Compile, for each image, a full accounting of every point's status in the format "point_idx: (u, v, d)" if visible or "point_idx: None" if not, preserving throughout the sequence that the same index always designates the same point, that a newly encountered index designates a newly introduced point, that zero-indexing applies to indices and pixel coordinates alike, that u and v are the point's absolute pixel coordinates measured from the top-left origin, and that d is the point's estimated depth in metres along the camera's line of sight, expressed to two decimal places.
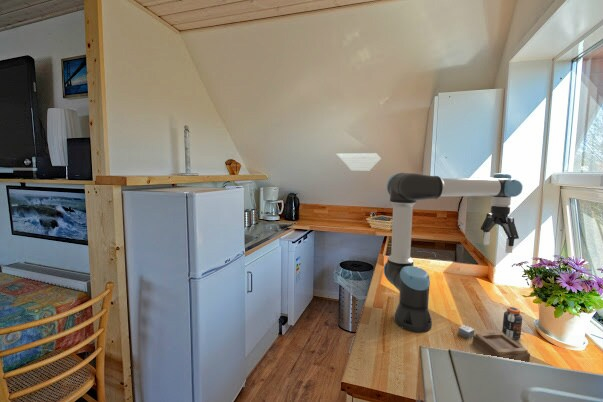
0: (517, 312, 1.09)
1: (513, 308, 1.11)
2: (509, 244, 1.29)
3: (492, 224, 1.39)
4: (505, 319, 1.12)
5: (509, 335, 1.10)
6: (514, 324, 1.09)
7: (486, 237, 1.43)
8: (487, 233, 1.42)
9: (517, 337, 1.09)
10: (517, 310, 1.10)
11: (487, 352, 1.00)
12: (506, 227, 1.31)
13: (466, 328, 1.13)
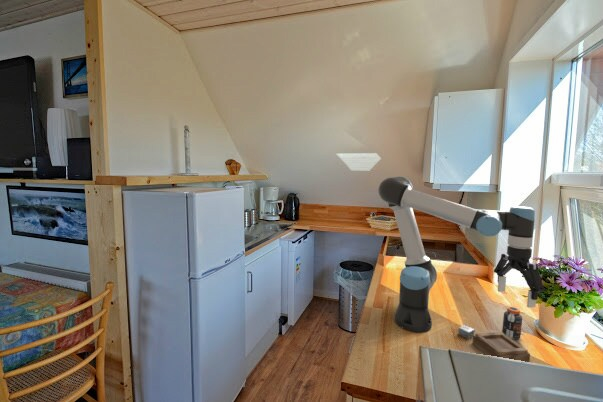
0: (517, 312, 1.09)
1: (513, 308, 1.11)
2: (532, 297, 1.02)
3: (509, 268, 1.13)
4: (505, 319, 1.12)
5: (509, 335, 1.10)
6: (514, 324, 1.09)
7: (501, 282, 1.16)
8: (502, 277, 1.16)
9: (517, 337, 1.09)
10: (517, 310, 1.10)
11: (487, 352, 1.00)
12: (527, 275, 1.04)
13: (466, 328, 1.13)
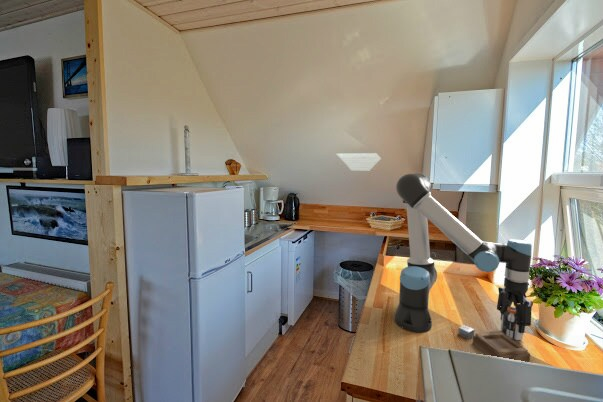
0: None
1: (513, 308, 1.11)
2: (519, 330, 1.08)
3: (508, 302, 1.13)
4: (505, 319, 1.12)
5: (509, 335, 1.10)
6: (514, 324, 1.09)
7: None
8: None
9: None
10: None
11: (487, 352, 1.00)
12: (520, 309, 1.08)
13: (466, 328, 1.13)
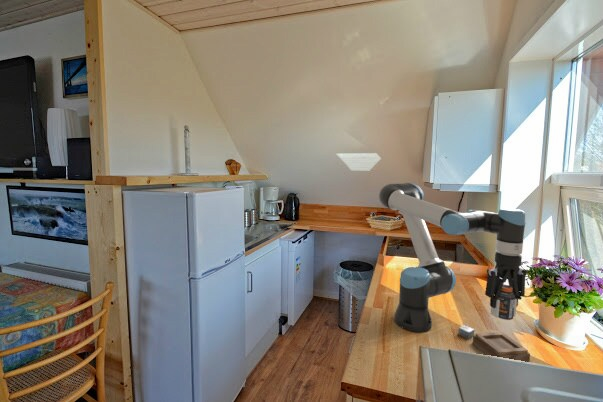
0: None
1: (506, 286, 0.99)
2: None
3: (509, 281, 1.00)
4: None
5: None
6: None
7: None
8: None
9: None
10: (503, 287, 0.99)
11: (487, 352, 1.00)
12: (496, 282, 0.99)
13: (466, 328, 1.13)
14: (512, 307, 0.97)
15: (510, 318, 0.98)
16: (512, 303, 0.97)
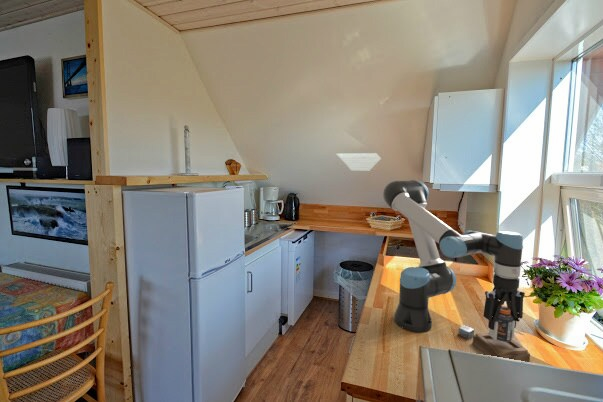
0: None
1: (504, 308, 1.00)
2: None
3: (507, 302, 1.01)
4: None
5: None
6: None
7: None
8: None
9: None
10: (501, 309, 0.99)
11: (487, 352, 1.00)
12: (494, 304, 1.00)
13: (466, 328, 1.13)
14: (510, 329, 0.98)
15: (508, 340, 0.98)
16: (510, 325, 0.98)
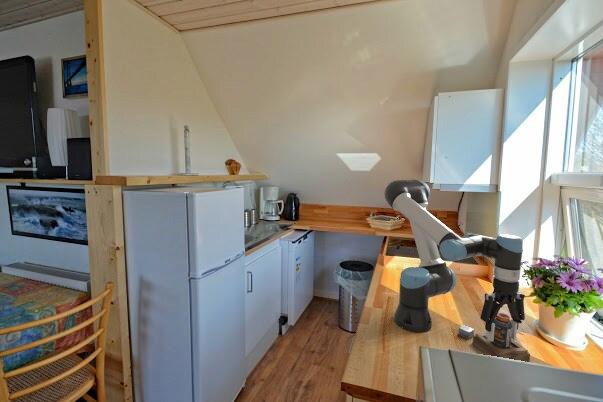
0: (497, 316, 1.00)
1: (503, 315, 1.00)
2: None
3: (508, 305, 1.01)
4: None
5: None
6: None
7: None
8: (511, 322, 1.02)
9: (492, 342, 1.01)
10: (500, 316, 1.00)
11: (487, 352, 1.00)
12: (492, 306, 1.00)
13: (466, 328, 1.13)
14: (509, 336, 0.99)
15: (507, 347, 0.99)
16: (509, 332, 0.98)
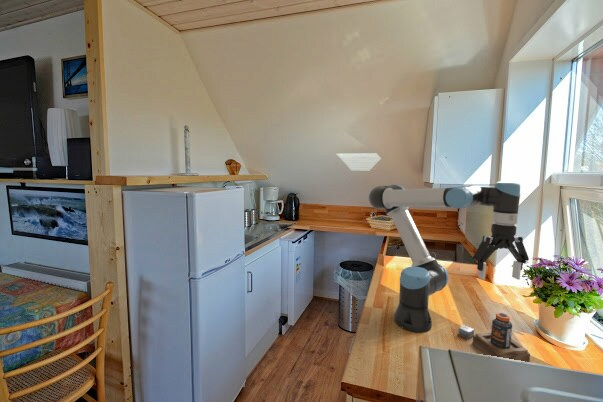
0: (497, 315, 1.00)
1: (503, 315, 1.00)
2: None
3: (509, 249, 1.05)
4: None
5: None
6: None
7: (514, 267, 1.06)
8: (516, 262, 1.06)
9: (492, 342, 1.01)
10: (500, 316, 1.00)
11: (487, 352, 1.00)
12: (488, 248, 1.05)
13: (466, 327, 1.13)
14: (509, 336, 0.99)
15: (507, 347, 0.99)
16: (509, 332, 0.98)
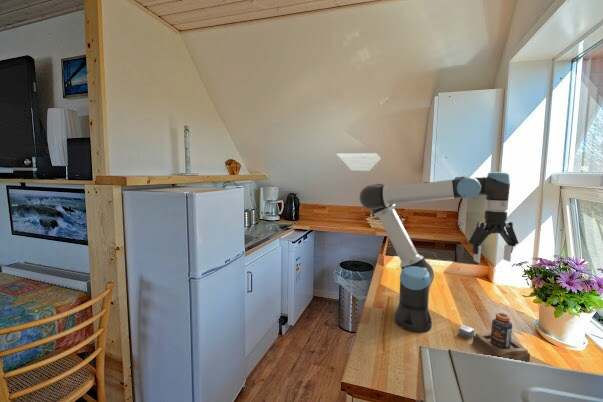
0: (497, 315, 1.00)
1: (503, 315, 1.00)
2: None
3: (501, 234, 1.15)
4: None
5: None
6: None
7: (505, 250, 1.16)
8: (506, 246, 1.16)
9: (492, 342, 1.01)
10: (500, 316, 1.00)
11: (487, 352, 1.00)
12: (482, 233, 1.14)
13: (466, 327, 1.13)
14: (509, 336, 0.99)
15: (507, 347, 0.99)
16: (509, 332, 0.98)
